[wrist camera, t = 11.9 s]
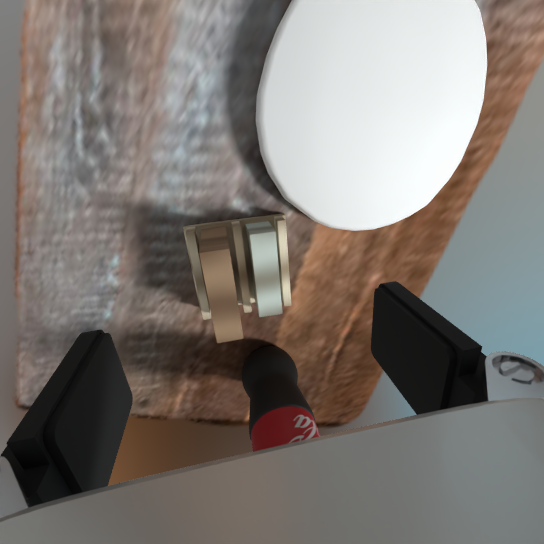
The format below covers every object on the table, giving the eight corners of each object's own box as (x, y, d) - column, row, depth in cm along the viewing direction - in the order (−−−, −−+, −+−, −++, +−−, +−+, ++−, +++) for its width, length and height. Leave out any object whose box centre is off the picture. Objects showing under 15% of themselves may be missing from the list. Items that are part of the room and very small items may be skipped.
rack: (183, 225, 39) (179, 239, 33) (283, 213, 40) (294, 224, 35) (200, 307, 43) (198, 331, 38) (288, 293, 45) (299, 313, 40)
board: (201, 229, 38) (199, 252, 30) (225, 225, 39) (229, 248, 30) (216, 304, 43) (217, 343, 35) (237, 301, 43) (243, 338, 35)
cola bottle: (281, 385, 52) (357, 650, 25) (234, 379, 50) (261, 664, 23) (299, 345, 49) (405, 594, 22) (249, 336, 47) (301, 603, 20)
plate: (454, 233, 41) (258, 240, 37) (425, 217, 47) (252, 221, 42) (556, -58, 27) (262, -103, 23) (497, -31, 33) (252, -63, 28)
